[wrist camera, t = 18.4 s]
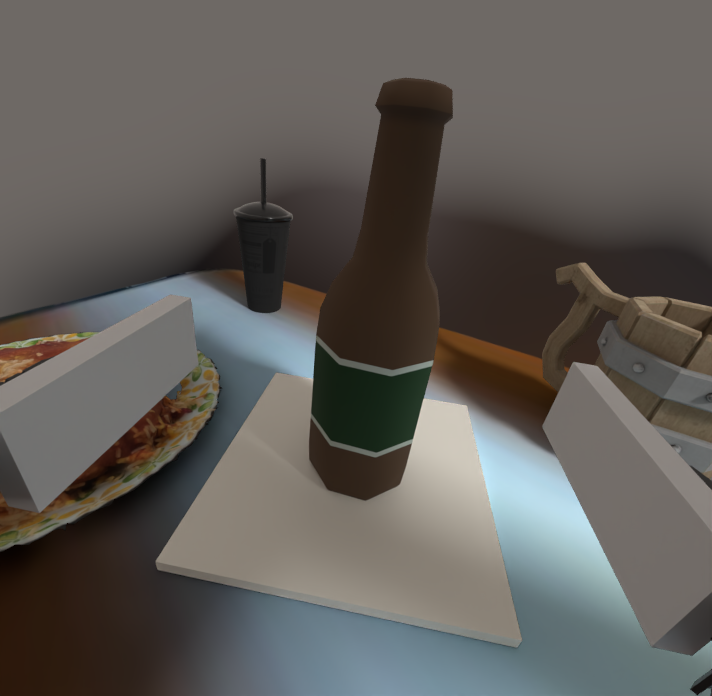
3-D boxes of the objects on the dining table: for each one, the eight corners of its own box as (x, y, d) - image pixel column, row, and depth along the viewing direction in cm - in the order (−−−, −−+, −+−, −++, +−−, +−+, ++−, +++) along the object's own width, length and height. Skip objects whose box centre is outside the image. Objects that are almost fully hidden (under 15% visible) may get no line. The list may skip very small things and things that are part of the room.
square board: (464, 412, 36) (466, 405, 36) (517, 647, 18) (522, 640, 18) (276, 378, 37) (276, 372, 37) (157, 569, 20) (155, 561, 19)
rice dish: (-265, 436, 26) (-333, 375, 23) (130, 319, 46) (120, 279, 43) (-266, 803, 13) (-422, 765, 10) (285, 414, 33) (284, 366, 30)
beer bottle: (285, 463, 26) (297, 62, 15) (348, 415, 32) (390, 98, 21) (370, 526, 23) (471, 58, 11) (423, 458, 29) (526, 103, 17)
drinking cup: (298, 304, 56) (304, 163, 46) (272, 321, 49) (273, 161, 40) (257, 293, 58) (254, 156, 48) (227, 308, 51) (217, 153, 42)
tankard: (742, 496, 30) (889, 343, 23) (647, 532, 26) (790, 357, 19) (558, 371, 46) (610, 258, 39) (480, 380, 42) (523, 255, 35)
